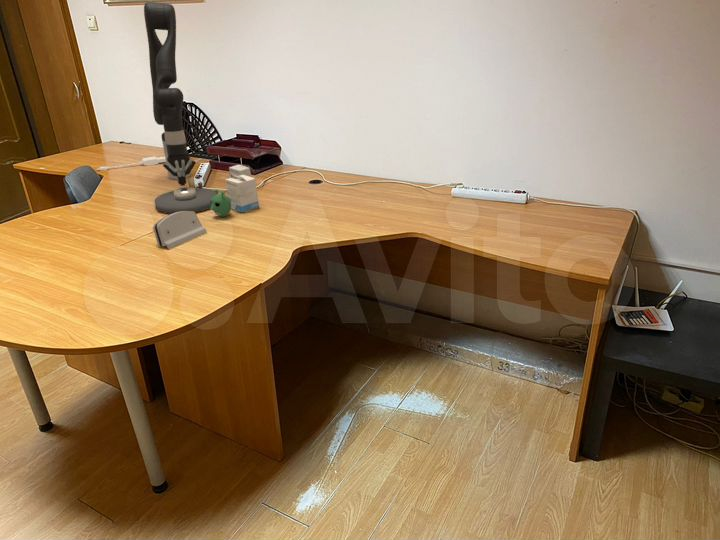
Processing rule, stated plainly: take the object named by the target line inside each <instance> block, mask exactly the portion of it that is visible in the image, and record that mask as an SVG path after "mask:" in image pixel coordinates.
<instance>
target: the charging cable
mask: <svg viewBox="0 0 720 540" xmlns="http://www.w3.org/2000/svg"><path fill="white" fill-rule="evenodd" d="M160 163H166V159H165V156H160V157H157V156H155V155H154V156H149V157H142V158H141V161H140V162H134V163H129V164H128V163H126V164H121V165H116V166H115V165H114V166H106V165H105V166H99V167H98V168H96V171H101V170H104V171H107V170H109V169H113V168H119V167H120V168H121V167H126V166H133V165H139V164H140V165H143V164H144V165H151V166H154V165H153V164H158V165H159V164H160ZM144 165H143V166H144Z"/></svg>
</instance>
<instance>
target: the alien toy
mask: <svg viewBox="0 0 720 540" xmlns="http://www.w3.org/2000/svg"><path fill="white" fill-rule="evenodd" d="M214 192H216V193H217V195H215V196H214V197H213V198H211V202H210V203H211V207H210V208H209V209H210V210H211V211H213V213H214V214H215V216H217V217H221V218H223V217H227V216H228V215H229V214H230V213H231V210H232V209H231V202H230V199H229V198H228V195H227V194H226V192H225V191H224V190H222V191H220V193H219V189H214Z"/></svg>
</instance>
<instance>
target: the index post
mask: <svg viewBox="0 0 720 540" xmlns="http://www.w3.org/2000/svg"><path fill="white" fill-rule="evenodd" d="M197 186H198V188H203V182H197ZM203 189H204V188H203Z"/></svg>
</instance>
